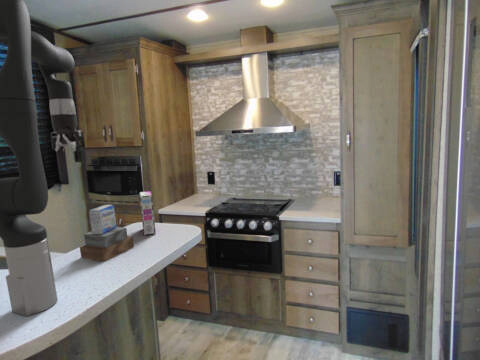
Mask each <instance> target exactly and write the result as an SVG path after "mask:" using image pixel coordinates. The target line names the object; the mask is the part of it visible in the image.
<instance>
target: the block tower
mask: <svg viewBox="0 0 480 360" xmlns="http://www.w3.org/2000/svg"><path fill="white" fill-rule="evenodd" d="M83 236H84V243H85V244H83V245H81V246H79V251H80V258H82V259H87V260H93V261H97V262H106V261H108V260H110V259H113V258H114V257H117V256H119V255H121V254H123V253H124V252H126V251H129V250H131V249H134V247H135V245H134V237H133V236H128V229H127V227H122V226H116V228H114V229H112V230H111V231H109V232H107V233H105V234H92V230H91V231H89V232H86V233H83Z"/></svg>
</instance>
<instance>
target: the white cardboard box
mask: <svg viewBox="0 0 480 360" xmlns="http://www.w3.org/2000/svg"><path fill="white" fill-rule="evenodd" d="M139 202H140V203H139V204H140V212H141V221H142V230H143V236H144V237H145V236H151V235H152V236H153V235H156V225H155V223H156V222H155V213H154V204H153V203H154V202H153V195H152V191H150V190H149V191H140V192H139Z"/></svg>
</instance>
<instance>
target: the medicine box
mask: <svg viewBox="0 0 480 360" xmlns="http://www.w3.org/2000/svg"><path fill="white" fill-rule="evenodd" d="M88 213H89V219H90V220H89V221H90V227H91V231H92V234H105V233H107V232H109V231H111V230H112V229H114V228H116V227H117V221H116V214H115V206H114V205H113V204H103V205H100V206H98V207H95V208H91V209H90V210H89V211H88Z"/></svg>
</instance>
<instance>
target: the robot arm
mask: <svg viewBox="0 0 480 360" xmlns="http://www.w3.org/2000/svg"><path fill="white" fill-rule="evenodd" d="M0 44H3V45H5V46H7V53H6V57H5V60H4V62H3V64H2V65H1V68H0V137H1V138H2V140H3V141H4V142H5V143H6V145H7V146H8V147H9V149H10V150H11V152H12V153H13V155H14V157H15V161H16V163H17V169H18V174H19V175H18V176H15V177H3V178H0V239H1V240H2V242H3V243H2V244H3V247H4V254H5V258H6V263H7V264H6V265H7V269H8V274H7V275H6V276H5V280H6V288H7V291H8V298H9V301H10V307H11V313H15V314H18V315H21V316H24V317H29V316H31V315H33V314H37V313H41V312H43V311H46V310H47V309H51V307H53V306H54V305H56V303H57V302H58V295H57V294H58V293H57V292H58V291H57V290H56V289H57V288H56V283H55V277H54V270H53V264H52V258H51V257H52V256H51V252H50V245H49V240H48V239H49V238H48V233H47V229H46V227H45V226H44V225H42V224H39V223H38V222H34V221H33V220H31V219H29V217H28V216H29V215H38V214H41V213H43V212H44V211H45V210H46V208H47V205H48V202H49V189H48V188H49V187H48V182H47V178H46V173H45V169H44V168H45V167H44V164H43V159H42V153H41V147H40V138H39V137H40V136H39V129H38V128H39V127H38V115H37V114H38V113H37V105H36V104H37V103H36V96H35V89H34V79H33V71H32V69H33V67H32V60H33V61H35V62H36V63H37V65H38V68H39V70H40V72H41V74H42V77H43V79H44V83H45V84H46V88H47V93H48V99H49V113H50V121H51V126H52V129H54V130H56V131H53V132H52V131H51V132H50V133H49V135H50V143H51V144H50V145H51V150H54V151H55V152H56V154H57V161H58V163H65V162H66V161H67V160H66V153H65V148H66V147H67V145H68V146H69V147H71V148H72V149H73V157H74V162H75V163H82V161H83V157H82V150H83V149H86V142H85V137H84V132H83V130H81V129H78V130H76V128H78V125H79V124H78V120H77V118H78V117H77V113H76V105H75V101H74V96H73V89H72V84H71V83H70V82H69V81H67V80H61V79H57V78H56V76H55V75H56V74H68V73H71V72H73V70H74V68H75V66H76V65H75V59H74V58H73V55H72V54H71V53H70V52H69V51H68V50H67V49H65V48H63V47H60V46H59V45H55V44H52V43H51V42H50V41H49V40H48V39H47V38H46V37H44V36H43V35H42V34H40V33H37V32H36V31H33V30H32V26H31V19H30V14H29V10H28V7H27V5H26V3H25V1H24V0H0ZM80 143H81V144H80ZM27 215H28V216H27Z"/></svg>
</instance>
